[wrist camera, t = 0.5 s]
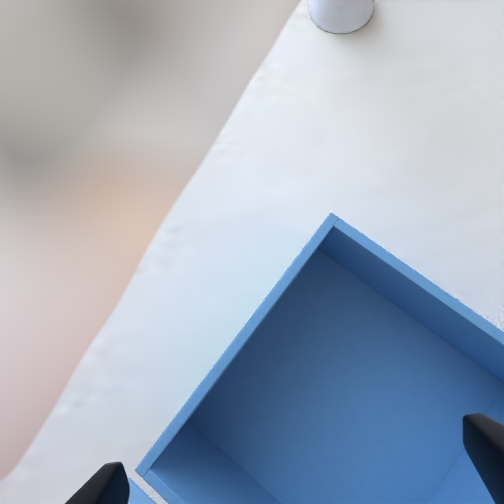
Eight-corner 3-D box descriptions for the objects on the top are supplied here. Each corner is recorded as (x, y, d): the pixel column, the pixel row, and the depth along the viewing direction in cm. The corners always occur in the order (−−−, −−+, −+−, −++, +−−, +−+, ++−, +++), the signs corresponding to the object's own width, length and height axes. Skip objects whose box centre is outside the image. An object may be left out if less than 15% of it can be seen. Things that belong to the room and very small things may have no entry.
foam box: (372, 591, 19) (425, 753, 12) (180, 418, 22) (133, 470, 15) (511, 381, 20) (632, 420, 13) (315, 240, 23) (331, 211, 16)
